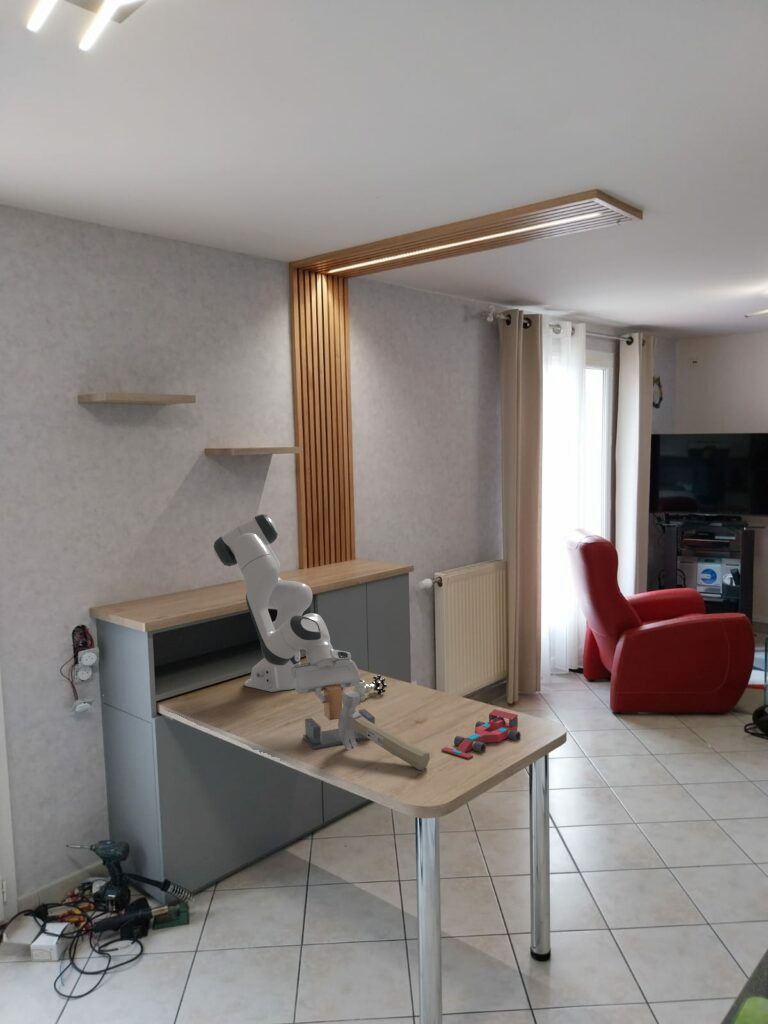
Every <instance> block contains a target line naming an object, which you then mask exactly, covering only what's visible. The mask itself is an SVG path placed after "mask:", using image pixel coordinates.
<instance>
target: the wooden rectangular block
mask: <svg viewBox="0 0 768 1024" xmlns="http://www.w3.org/2000/svg"><path fill="white" fill-rule="evenodd" d="M323 695H324V696H325V695H326V696H327V703H323V712H324V714H323V715H324V717H326V719H328V720H329V721H334V720H339V715H340V711H341V710H342V708H343V701H342V689H341V688H340V687H339V686H338V685H331V686H324V691H323Z"/></svg>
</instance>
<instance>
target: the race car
mask: <svg viewBox="0 0 768 1024" xmlns="http://www.w3.org/2000/svg"><path fill="white" fill-rule="evenodd" d="M505 719H507V720H508V722H507V721H506V720H505ZM518 723H519V722H518V714H516V713H513V712H512V713H511V712H507V711H503V710H499V709H493V710H492V711H491V712H490V713H488V722H484V721H480V720H478V721H476V723H475V728H474V733H473V734H471V735H469V736H467V737H463V736H461V735H460V736H459V735H456V736H455V737H454V739H453V744H454V745H455V746H457V747H456V748H455V749H454V748H452V747H451V748H450V747H447V746H445V747H443V748H441V752H445V753H448V754H452V755H454V756H458V757H461V758H464V759H468V760H469V759H471V758H473V757H474V755H473V754H471V753H467V752H469V751H471V750H473V751H474V752H477V753H482V752H484V751H486V750H487V745H486V744H488V743H499V742H502V741H504V740H505V739H509V740H512V741H517V740H520V739H521V737H522V735H521V732H520V731H518V727H519V726H518Z"/></svg>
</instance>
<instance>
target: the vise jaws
mask: <svg viewBox="0 0 768 1024" xmlns="http://www.w3.org/2000/svg"><path fill="white" fill-rule="evenodd" d="M357 712H358V713H360V714H361V717H363V718H365V719H366V720H368V721H370V722H372V723H374V724H375V725H376V722H375V721H376V719H375V718H376V717H375V716H374V715H373V714H372V713H370V712H369V711H368V710H366V708H364V709H358V711H357ZM304 724H305V725H304V728H305V730H304V731H305V733H304V734H302V738H303V740H304V741H305V742H306V743H307V744H308V745H309V747H310V748H311V749H312V750H317V749H318V750H319V749H324V748H329V747H334V746H341V745H343V743H342V741H341V738H340V733H339V728H334V729H327V730H324V731H323V729H322V726H321V725H320V724H318V722H317V721H316V720H314V719H313V718H312V717H310V718H305V719H304ZM354 736H355V741H356V743H358V742H362V741H365V740H366V741H367V740H369V739H368V738H367V737H365V736H364V735H362V734H360V733H358V732H356V731H354Z"/></svg>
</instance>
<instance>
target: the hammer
mask: <svg viewBox="0 0 768 1024" xmlns="http://www.w3.org/2000/svg"><path fill="white" fill-rule="evenodd" d="M359 704H360V695H359V694H358V693H356V692H354V690H348V691H346V692H344V695H343V697H342V710H341V711H340V715H339V719H338V723H337V727H338V728H337V729H339V733H340V738H341V741H342V743H343V744H342V745H343V747H344V748H345V749H346V751H350V750H352V749H355V748H357V747H359V746H358V742H356V741H355V736H354V731H356V732H358V733H360V734H362V735H364V736H365V737H367V738H368V739H367V740H370V741H371V742H373V743H374V744H376V745H378V746H380V748H382V749H384V750H385V751H387V752H388V753H390V754H392V756H395V757H397V758H399V759H400V760H401V761H404V762H406V763H407V764H409V765H410V766H412V767H413V768H415V769H417V770H418V771H423V770H425V769H426V768H427V767H428V765H429V761H430V752H429V751H427V750H425V749H423V748H420V747H418V746H416V745H414V744H412V743H410V742H408V741H406V740H405V739H402V738H401V737H399V736H397V735H396V734H394V733H393V732H391V731H389V730H387V729H385V728H383V727H381V726H379V725H378V724H376V723H375V724H374V723H372V722H370V721H368V720H366V719H365V718H363V717H361V714H360V713H358V712H359V711H356V706H359Z"/></svg>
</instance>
